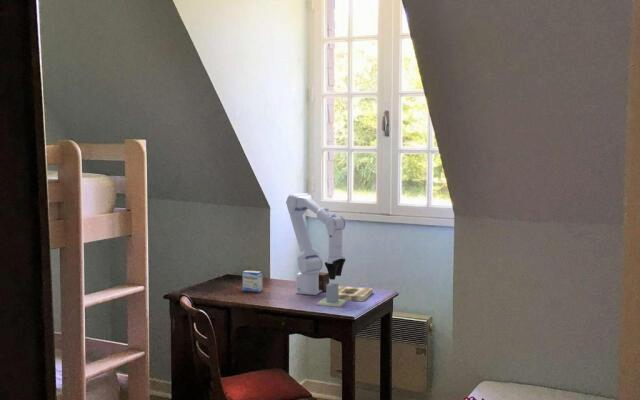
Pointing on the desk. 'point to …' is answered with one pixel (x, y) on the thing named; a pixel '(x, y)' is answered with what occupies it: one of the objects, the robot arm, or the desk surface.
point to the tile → (337, 304)
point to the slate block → (332, 293)
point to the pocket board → (354, 293)
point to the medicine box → (252, 281)
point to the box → (323, 280)
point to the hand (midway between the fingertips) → (335, 277)
